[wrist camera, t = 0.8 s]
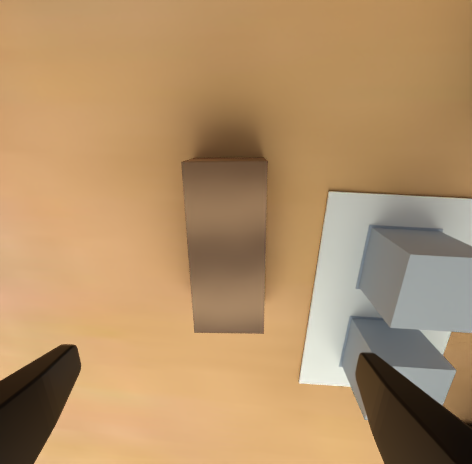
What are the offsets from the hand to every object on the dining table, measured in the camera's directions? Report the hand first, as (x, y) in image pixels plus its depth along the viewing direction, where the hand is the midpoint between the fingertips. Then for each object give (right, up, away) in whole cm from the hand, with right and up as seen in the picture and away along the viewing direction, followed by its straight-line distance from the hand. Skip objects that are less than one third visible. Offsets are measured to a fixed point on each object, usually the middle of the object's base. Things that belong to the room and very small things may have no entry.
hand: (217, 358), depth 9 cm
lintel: (0, +4, +13) cm, 13 cm away
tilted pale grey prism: (+13, +2, +12) cm, 18 cm away
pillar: (+13, -6, +15) cm, 20 cm away
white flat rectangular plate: (+13, -2, +14) cm, 19 cm away
